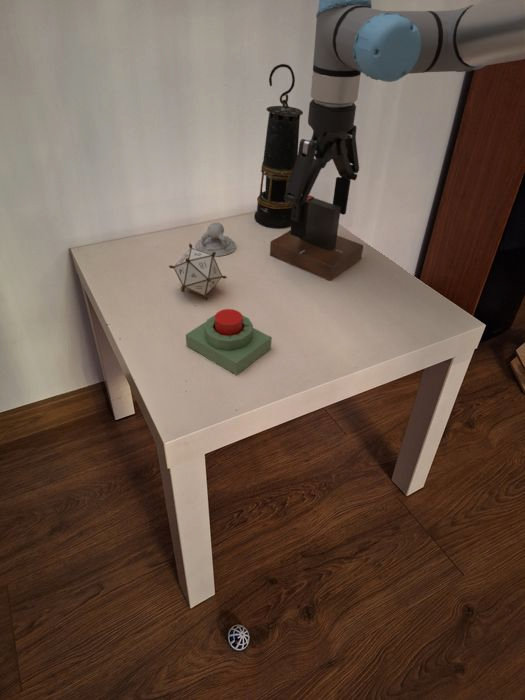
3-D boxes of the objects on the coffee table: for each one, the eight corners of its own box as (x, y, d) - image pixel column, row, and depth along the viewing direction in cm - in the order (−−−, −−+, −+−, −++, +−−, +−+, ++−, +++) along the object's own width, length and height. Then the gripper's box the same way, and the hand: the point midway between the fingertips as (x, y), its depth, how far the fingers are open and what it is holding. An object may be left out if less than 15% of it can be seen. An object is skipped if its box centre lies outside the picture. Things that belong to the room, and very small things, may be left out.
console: (361, 258, 103) (364, 244, 101) (330, 281, 96) (332, 266, 94) (302, 235, 109) (304, 221, 107) (269, 255, 102) (270, 240, 100)
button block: (271, 348, 80) (272, 327, 78) (236, 375, 75) (236, 353, 73) (222, 322, 85) (221, 301, 82) (186, 346, 80) (184, 324, 77)
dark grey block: (335, 247, 100) (341, 205, 94) (329, 250, 98) (335, 209, 93) (305, 235, 103) (309, 194, 98) (299, 238, 102) (302, 197, 97)
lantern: (301, 226, 113) (316, 70, 94) (259, 229, 111) (266, 71, 92) (290, 209, 119) (301, 59, 101) (250, 211, 118) (254, 60, 99)
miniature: (239, 239, 107) (239, 217, 104) (232, 258, 101) (232, 235, 98) (200, 235, 108) (199, 213, 105) (191, 254, 102) (189, 230, 99)
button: (247, 327, 78) (248, 316, 77) (229, 340, 76) (229, 328, 74) (227, 316, 80) (227, 305, 79) (209, 328, 77) (209, 317, 76)
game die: (197, 316, 92) (173, 293, 83) (178, 279, 96) (152, 254, 86) (240, 288, 92) (221, 263, 82) (220, 253, 95) (198, 224, 86)
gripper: (353, 84, 94) (338, 197, 108) (266, 111, 79) (261, 240, 92) (391, 92, 91) (370, 208, 104) (307, 122, 75) (295, 254, 89)
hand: (319, 223), depth 98 cm, fingers open, 13 cm apart
